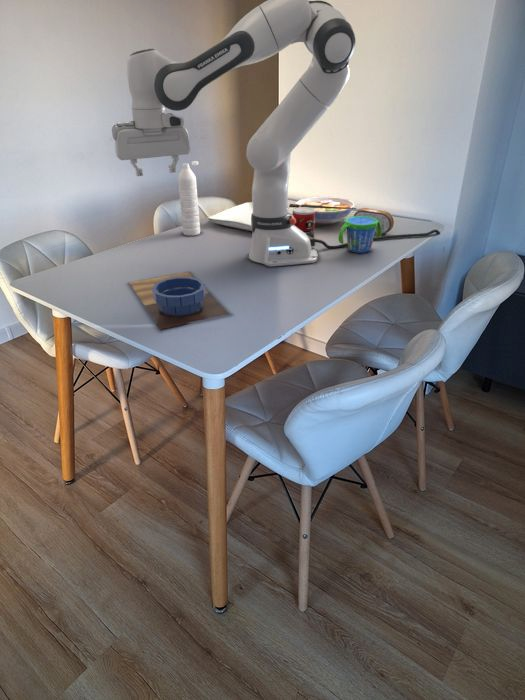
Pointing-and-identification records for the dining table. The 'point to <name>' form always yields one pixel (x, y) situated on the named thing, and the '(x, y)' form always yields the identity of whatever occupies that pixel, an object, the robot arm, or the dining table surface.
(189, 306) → the bowl
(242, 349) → the dining table surface
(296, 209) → the canned food
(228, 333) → the dining table surface
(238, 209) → the square plate
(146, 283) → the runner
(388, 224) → the tin
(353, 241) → the snack cup
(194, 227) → the water bottle
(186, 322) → the mat
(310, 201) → the ramen bowl
